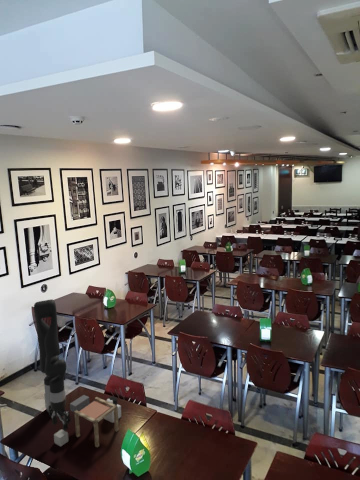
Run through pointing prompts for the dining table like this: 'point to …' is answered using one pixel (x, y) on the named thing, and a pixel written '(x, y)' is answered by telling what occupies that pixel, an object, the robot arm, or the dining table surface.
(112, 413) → the medicine bottle
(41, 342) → the robot arm
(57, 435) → the light gray cube
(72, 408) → the trapdoor
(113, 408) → the stand
